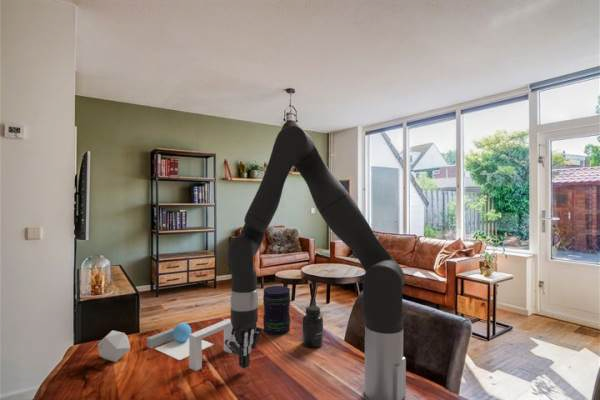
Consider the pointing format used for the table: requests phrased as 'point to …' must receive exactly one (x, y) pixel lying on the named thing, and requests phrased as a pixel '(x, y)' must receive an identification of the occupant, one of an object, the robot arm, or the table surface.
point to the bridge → (196, 337)
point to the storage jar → (276, 310)
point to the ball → (181, 332)
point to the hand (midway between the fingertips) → (244, 366)
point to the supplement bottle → (312, 327)
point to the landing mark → (179, 349)
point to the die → (113, 346)
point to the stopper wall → (160, 338)
